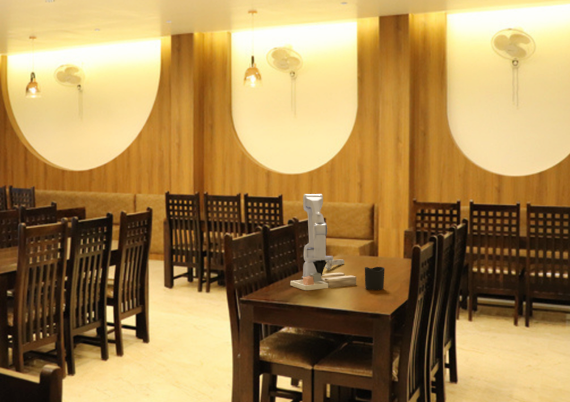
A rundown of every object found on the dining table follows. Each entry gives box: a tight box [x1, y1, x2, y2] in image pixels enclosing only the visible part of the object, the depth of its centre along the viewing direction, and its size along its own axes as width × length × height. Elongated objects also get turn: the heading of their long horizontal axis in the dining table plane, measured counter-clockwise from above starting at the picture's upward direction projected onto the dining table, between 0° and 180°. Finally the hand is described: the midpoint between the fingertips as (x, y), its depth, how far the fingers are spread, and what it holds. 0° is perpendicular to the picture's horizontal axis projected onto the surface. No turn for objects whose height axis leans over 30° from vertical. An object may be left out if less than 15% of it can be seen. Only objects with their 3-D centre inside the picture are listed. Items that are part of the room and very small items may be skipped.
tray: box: [290, 279, 328, 291], centre depth 312 cm, size 14×13×2 cm
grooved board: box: [321, 272, 357, 289], centre depth 319 cm, size 14×16×4 cm
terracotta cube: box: [302, 276, 314, 285], centre depth 312 cm, size 4×4×4 cm
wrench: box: [324, 258, 345, 271], centre depth 370 cm, size 8×2×30 cm
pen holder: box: [364, 266, 385, 291], centre depth 307 cm, size 9×9×10 cm
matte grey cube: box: [310, 272, 321, 282], centre depth 313 cm, size 4×4×4 cm
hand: (319, 275), depth 315 cm, fingers closed
